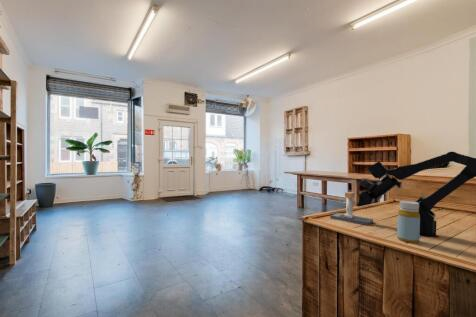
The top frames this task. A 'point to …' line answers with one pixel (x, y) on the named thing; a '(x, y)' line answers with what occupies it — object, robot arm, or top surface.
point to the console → (352, 219)
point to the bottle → (408, 222)
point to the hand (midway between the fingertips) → (357, 205)
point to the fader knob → (349, 204)
